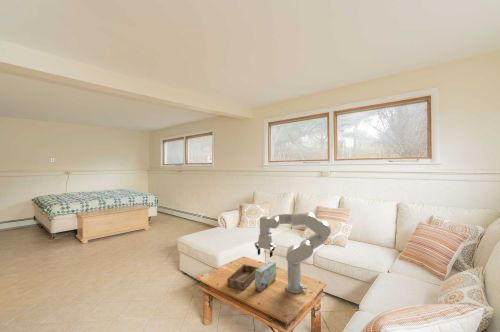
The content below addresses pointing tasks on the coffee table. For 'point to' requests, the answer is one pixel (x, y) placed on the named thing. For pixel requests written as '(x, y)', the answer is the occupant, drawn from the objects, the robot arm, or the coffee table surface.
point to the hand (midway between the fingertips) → (265, 255)
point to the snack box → (265, 276)
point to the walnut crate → (242, 277)
